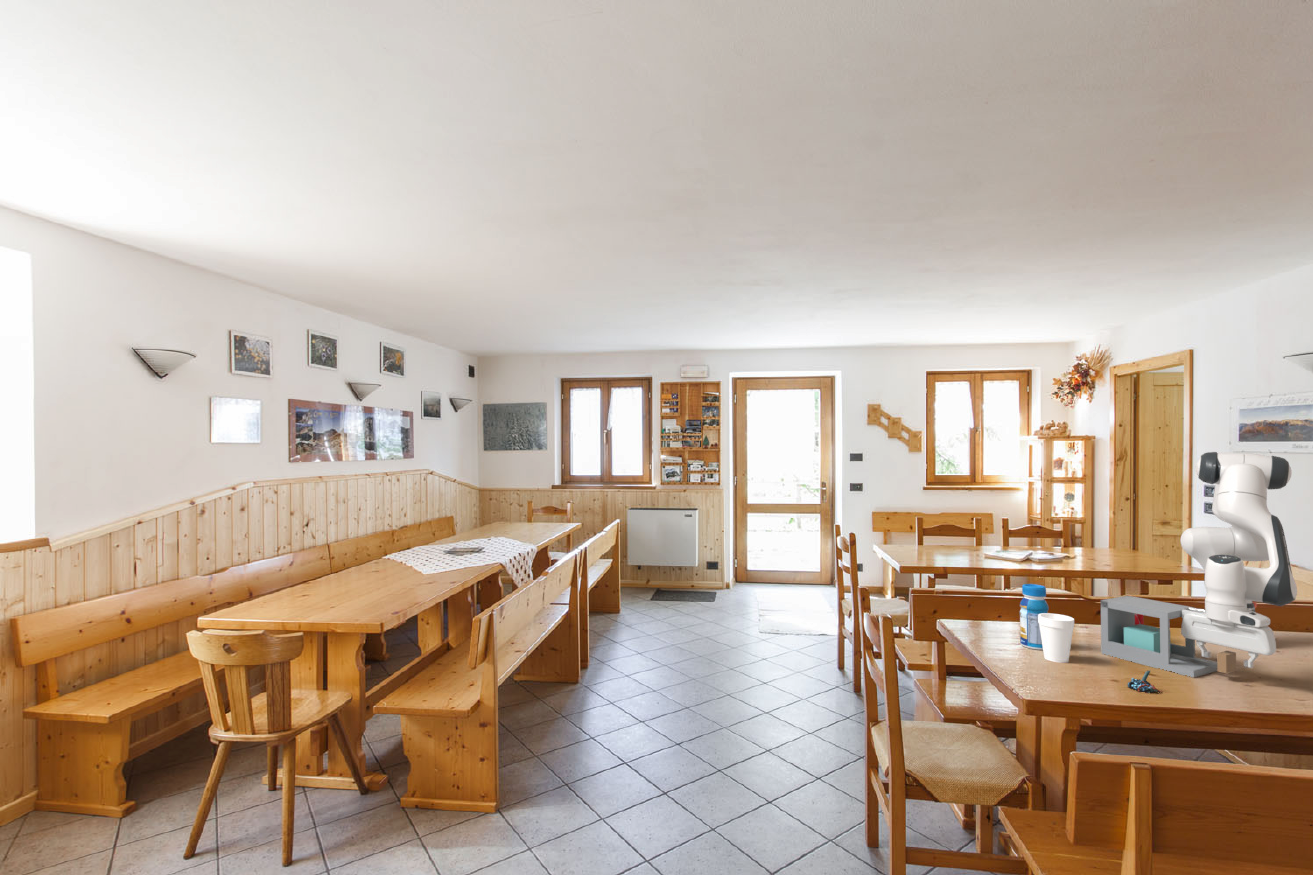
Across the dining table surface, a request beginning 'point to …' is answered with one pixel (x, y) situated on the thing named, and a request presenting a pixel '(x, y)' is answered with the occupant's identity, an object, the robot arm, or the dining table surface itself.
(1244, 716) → the dining table surface
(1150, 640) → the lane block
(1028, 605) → the beverage bottle
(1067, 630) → the foam cup
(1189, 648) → the shelf lane
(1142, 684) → the blue bumpy stemmed lump
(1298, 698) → the dining table surface
